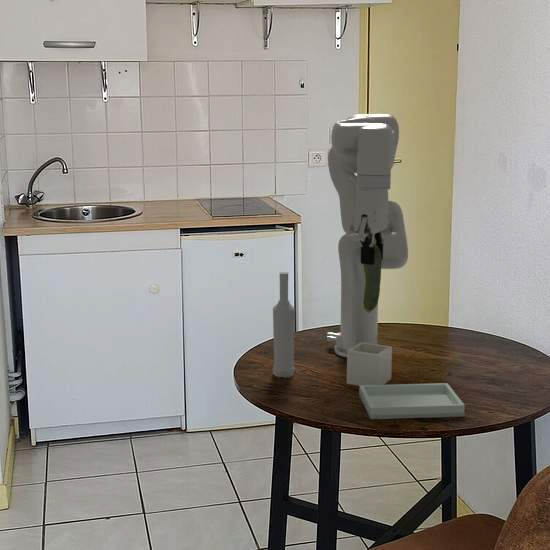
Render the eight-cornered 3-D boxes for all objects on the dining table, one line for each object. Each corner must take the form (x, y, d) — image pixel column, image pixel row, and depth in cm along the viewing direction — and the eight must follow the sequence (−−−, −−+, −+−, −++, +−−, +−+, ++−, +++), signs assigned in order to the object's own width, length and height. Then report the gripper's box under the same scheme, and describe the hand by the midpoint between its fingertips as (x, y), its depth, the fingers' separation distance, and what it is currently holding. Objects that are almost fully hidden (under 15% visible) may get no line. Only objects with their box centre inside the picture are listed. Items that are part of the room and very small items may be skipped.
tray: (370, 419, 191) (370, 407, 190) (359, 396, 204) (359, 385, 204) (464, 416, 192) (464, 405, 192) (446, 393, 206) (447, 383, 205)
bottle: (268, 374, 219) (268, 273, 213) (283, 369, 222) (283, 269, 217) (284, 379, 215) (284, 276, 210) (298, 374, 219) (299, 272, 214)
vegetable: (382, 311, 212) (384, 227, 208) (377, 316, 208) (380, 230, 204) (363, 310, 214) (365, 226, 209) (358, 314, 210) (360, 229, 205)
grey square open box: (346, 383, 212) (347, 350, 211) (359, 373, 219) (360, 341, 218) (378, 389, 209) (379, 355, 207) (391, 378, 216) (392, 346, 214)
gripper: (372, 177, 213) (370, 253, 217) (343, 185, 198) (341, 267, 203) (402, 179, 210) (400, 256, 214) (375, 187, 195) (373, 270, 199)
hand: (371, 261), depth 208 cm, fingers closed on vegetable, 4 cm apart
